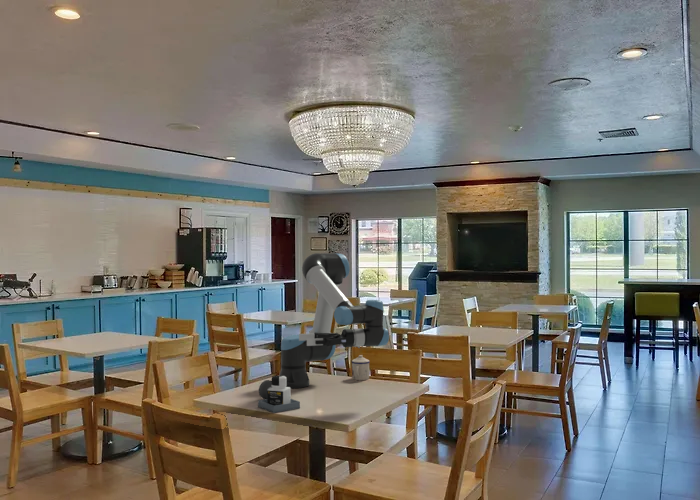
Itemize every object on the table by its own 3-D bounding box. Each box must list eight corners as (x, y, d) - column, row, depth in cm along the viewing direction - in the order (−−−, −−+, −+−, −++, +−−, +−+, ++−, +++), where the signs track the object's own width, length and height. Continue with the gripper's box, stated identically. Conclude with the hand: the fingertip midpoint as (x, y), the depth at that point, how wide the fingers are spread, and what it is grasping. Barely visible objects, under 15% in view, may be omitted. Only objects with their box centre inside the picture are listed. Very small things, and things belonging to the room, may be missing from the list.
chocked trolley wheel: (258, 400, 258) (258, 381, 258) (280, 396, 265) (280, 378, 265) (262, 401, 256) (262, 382, 256) (284, 397, 262) (284, 379, 262)
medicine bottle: (266, 407, 243) (266, 377, 243) (275, 403, 250) (275, 374, 250) (283, 408, 241) (283, 378, 241) (290, 404, 247) (290, 375, 248)
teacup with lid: (354, 376, 310) (354, 353, 310) (371, 377, 307) (371, 354, 308) (347, 381, 298) (347, 357, 299) (365, 382, 296) (365, 358, 296)
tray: (258, 406, 246) (258, 400, 246) (283, 402, 254) (283, 396, 254) (273, 412, 237) (273, 406, 237) (299, 408, 244) (299, 401, 244)
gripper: (361, 351, 243) (310, 354, 236) (343, 342, 266) (296, 344, 260) (362, 333, 243) (310, 334, 236) (343, 325, 266) (296, 326, 260)
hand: (302, 339), depth 248 cm, fingers open, 13 cm apart
